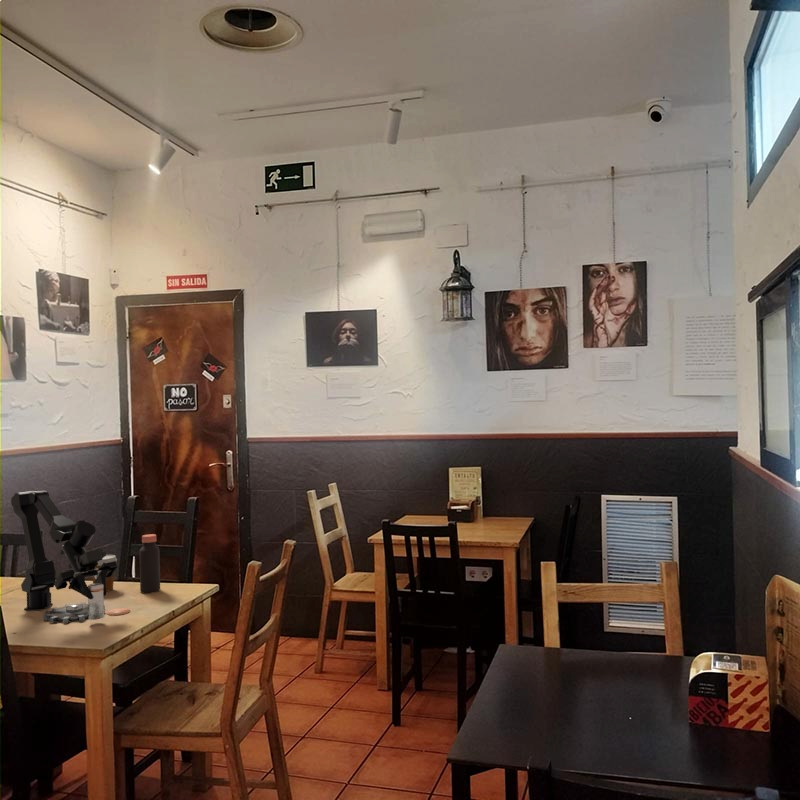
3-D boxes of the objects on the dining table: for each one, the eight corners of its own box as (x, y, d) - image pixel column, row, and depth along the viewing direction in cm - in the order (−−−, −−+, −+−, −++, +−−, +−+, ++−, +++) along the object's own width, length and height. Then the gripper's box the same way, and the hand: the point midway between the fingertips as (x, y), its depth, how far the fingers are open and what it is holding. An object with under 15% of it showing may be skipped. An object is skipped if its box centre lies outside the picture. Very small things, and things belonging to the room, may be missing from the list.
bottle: (139, 594, 255) (138, 537, 255) (140, 589, 262) (139, 534, 262) (159, 592, 257) (158, 536, 257) (160, 587, 264) (159, 533, 264)
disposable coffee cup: (111, 593, 257) (110, 559, 257) (84, 594, 257) (84, 560, 257) (121, 586, 267) (121, 554, 267) (95, 587, 267) (95, 554, 267)
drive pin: (85, 619, 219) (85, 586, 219) (92, 615, 224) (91, 583, 224) (100, 619, 219) (99, 586, 219) (106, 615, 224) (106, 582, 224)
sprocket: (30, 622, 224) (30, 612, 224) (67, 606, 242) (67, 597, 242) (82, 624, 221) (82, 614, 221) (116, 607, 239) (116, 598, 239)
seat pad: (103, 615, 230) (103, 614, 230) (112, 609, 237) (112, 608, 237) (124, 615, 230) (124, 614, 230) (133, 609, 237) (133, 608, 237)
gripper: (58, 545, 216) (80, 587, 210) (114, 535, 231) (136, 573, 225) (44, 568, 221) (65, 610, 214) (100, 557, 236) (121, 595, 230)
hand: (98, 596), depth 221 cm, fingers closed on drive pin, 4 cm apart
